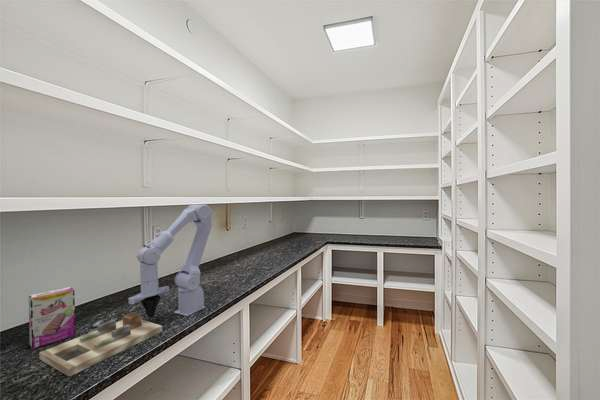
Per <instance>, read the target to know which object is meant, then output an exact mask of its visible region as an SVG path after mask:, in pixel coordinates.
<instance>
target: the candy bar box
mask: <svg viewBox="0 0 600 400" xmlns="http://www.w3.org/2000/svg"><path fill="white" fill-rule="evenodd" d="M75 304H76V303H75V288H73V287H72V286H67V287H64V288H63V287H62V288H58V289H53V290H49V291H43V292H37V293H34V294H30V295H28V320H29V321H28V323H29V325H28V327H29V328H28V329H29V345H30V347H31V350H36V349H38V348H42V347H45V346H47V345H51V344H54V343H57V342H60V341H63V340H66V339H69V338H73V337H75V336H76V305H75Z"/></svg>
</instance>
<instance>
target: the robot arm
mask: <svg viewBox="0 0 600 400" xmlns="http://www.w3.org/2000/svg"><path fill="white" fill-rule="evenodd" d="M212 214H213V211H212V210H211V208H210V207H209V205H208V204H205V203H203V204H195V203H191V204H189V205H187V207H186V208H185V209H183V211H182V212H181V214H180V215H179V216H178V217H177V218H176V219H175V221H173V223H172V224H171V225H170V226H169V227H168V229H166V230H165V231H164V230H163V231H160V232H157V233H156V234H155V237H153V239H152V240H151V241H150V242H148V243H147V244H146V245H145V247H142V248H141V249H140V250H139V251H138V254H137V255H136V260H138V262H139V271H140V274H139V277H140V278H139V279H140V292H139V293H137V294H134V296H131V297H128V304H129V305H134V304H135V303H138V302H139V303H141V305H142V306H143V308H144V310H145V312H146V316H147V317H148V318H150V319H152V318H154V317H155V314H156V311H157V306H158V304H159V303H160V300H161V296H160V295H161V294H164V293H168V292H170V286H168V285H164V286H159V270H158V269H159V266H158V262H159V261H160V259H161V255H162V253H163V252H164V251H165V250H166V249H167V248H168V247H169V246H170V245H171V244H172V243H173V242H174V237H175V235H176V234H178V233H179V232H180V231H181V230H182V229H183V228H184V227H185V226H186V225H188V223H191V222H193V223H194V225H195V226H196V231H195V234H194V236H193V237H194V238H193V240H192V243H191V246H190V249H189V253H188V254H187V258H186V261H185V264H184V265H183V266H181V268H180V269H179V271H178V273H177V274H176V276H175V277H174V284H175V285H176V286H177V294H178V295H177V297H178V299H177V300H178V309H177V310H175V311H173V313H174V314H176V315H177V314H178V315H182V316H184V317H189V316H190V315H193V314H195V313H197V312H199V311H201V310H203V309H205V308H206V306H205V300H204V299H205V296H204V290H203V288H202V287H201V286H200V284H201V275H202V274H201V270H200V268H199V266H200V264H201V262H202V261H201V260H202V257H203V256H204V255H203V254H204V251H205V248H206V245H207V242H208V240H209V235H210V233H211V230H212V226H213V225H212Z"/></svg>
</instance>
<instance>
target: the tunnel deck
mask: <svg viewBox="0 0 600 400" xmlns="http://www.w3.org/2000/svg"><path fill="white" fill-rule="evenodd" d="M96 327H97V329H96V330H93V331H91V332H89V333H86V334H83V335H81V336H78V337H76V338H74V339H71V340H68V341H65V342H63V343H60V344H58V345H55V346H53V347H49V348H47V349H45V350H43V351H40V352H39V353H38V354H39V355H38V356H39V360H41V361H42V362H43V363H45V364H47V365H49V366H50V367H52V368H53V369H55V370H57V371H58V372H61V373H62V374H64V375H65V376H66V377H71V376H73V375H76V374H77V373H80V372H81V371H84V370H86V369H87V368H88V369H89V368H90V367H92V366H94V365H97V364H99V363H100V362H103V361H104V360H107V359H108V358H111V357H113V356H115V355H117V354H119V353H121V352H123V351H125V350H127V349H129V348H131V347H133V346H135V345H137V344H140V343H141V342H143V341H146V340H148V339H150V338H152V337H154V336H156V335H158V334H160V333H162V332H163V325H160V324H157V323H154V322H151V321H147V320H144V319H142V318H141V326H139V327H137V328H135V329H132V330H130V325H128V324H127V325H125V326H123V319H121V320H119V321H117V320H115V319H111V320H109V321H106V322H104V323H101V324H97V326H96Z"/></svg>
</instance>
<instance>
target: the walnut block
mask: <svg viewBox="0 0 600 400" xmlns="http://www.w3.org/2000/svg"><path fill="white" fill-rule="evenodd" d="M141 319H142V314H141V313H139V312H135V311H134V312H131V313H128V314H126V315H123V316H122V320H123V326H125V325H127V324H128V325H130V330H132V329H135V328H137V327H139V326H141Z"/></svg>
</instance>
